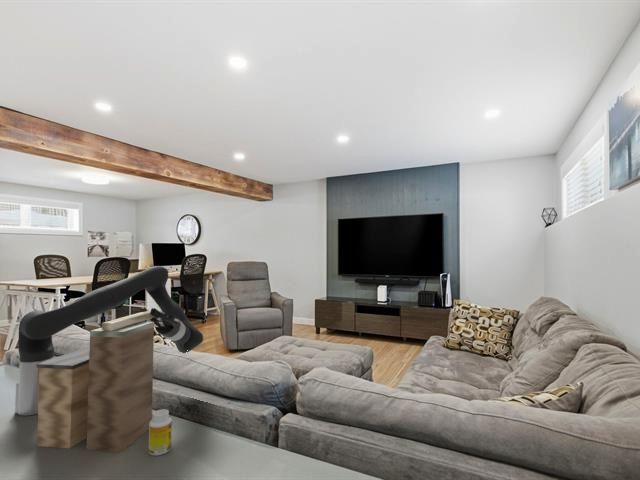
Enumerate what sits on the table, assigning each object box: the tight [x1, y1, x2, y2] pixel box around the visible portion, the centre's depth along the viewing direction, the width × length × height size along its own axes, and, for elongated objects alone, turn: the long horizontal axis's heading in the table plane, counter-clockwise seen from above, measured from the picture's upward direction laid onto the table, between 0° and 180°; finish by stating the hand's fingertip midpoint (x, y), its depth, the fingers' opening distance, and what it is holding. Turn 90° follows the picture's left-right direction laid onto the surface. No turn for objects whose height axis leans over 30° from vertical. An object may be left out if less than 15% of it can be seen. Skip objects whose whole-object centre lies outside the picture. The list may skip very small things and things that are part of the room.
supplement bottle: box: [148, 408, 173, 456], centre depth 95 cm, size 6×6×10 cm
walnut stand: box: [86, 322, 155, 453], centre depth 102 cm, size 10×14×32 cm
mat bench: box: [36, 347, 90, 449], centre depth 105 cm, size 11×17×22 cm, turn 173°
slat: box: [101, 309, 154, 331], centre depth 107 cm, size 3×22×2 cm, turn 173°
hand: (146, 310), depth 114 cm, fingers closed on slat, 3 cm apart
